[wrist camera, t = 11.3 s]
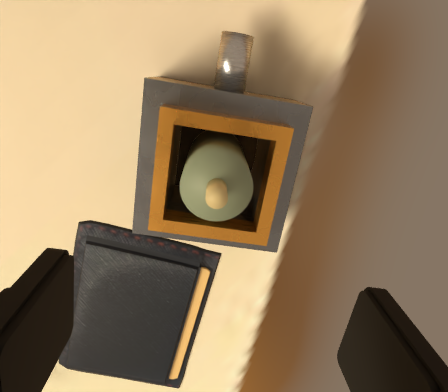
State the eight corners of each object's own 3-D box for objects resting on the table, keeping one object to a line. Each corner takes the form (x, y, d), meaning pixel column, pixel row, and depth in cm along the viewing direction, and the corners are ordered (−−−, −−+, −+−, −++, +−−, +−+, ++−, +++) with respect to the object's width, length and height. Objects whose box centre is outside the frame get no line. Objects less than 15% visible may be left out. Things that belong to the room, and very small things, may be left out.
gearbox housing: (162, 25, 27) (143, 7, 20) (305, 51, 28) (338, 44, 21) (146, 205, 33) (126, 245, 25) (266, 222, 34) (281, 265, 26)
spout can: (192, 124, 30) (181, 154, 20) (247, 133, 30) (263, 166, 20) (186, 177, 32) (172, 229, 22) (238, 184, 32) (248, 239, 22)
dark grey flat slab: (75, 221, 32) (227, 260, 34) (82, 213, 34) (227, 251, 35) (47, 374, 38) (177, 400, 40) (54, 360, 40) (178, 386, 42)
